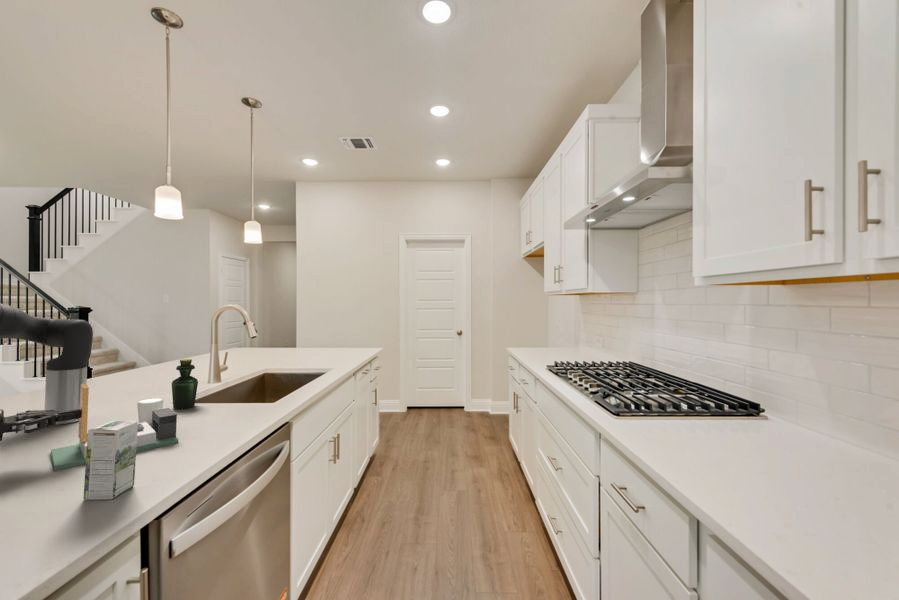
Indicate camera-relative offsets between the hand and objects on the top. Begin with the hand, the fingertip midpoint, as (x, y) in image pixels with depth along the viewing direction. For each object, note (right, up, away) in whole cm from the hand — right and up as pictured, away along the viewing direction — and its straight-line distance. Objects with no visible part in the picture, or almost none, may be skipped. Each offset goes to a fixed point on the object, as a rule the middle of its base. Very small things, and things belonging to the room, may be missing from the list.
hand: (80, 413), depth 93 cm
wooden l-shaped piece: (+4, -7, +5) cm, 9 cm away
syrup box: (+24, -12, -17) cm, 31 cm away
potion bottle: (-5, -11, +43) cm, 45 cm away
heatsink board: (+4, -11, +6) cm, 13 cm away
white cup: (-5, -11, +27) cm, 29 cm away
